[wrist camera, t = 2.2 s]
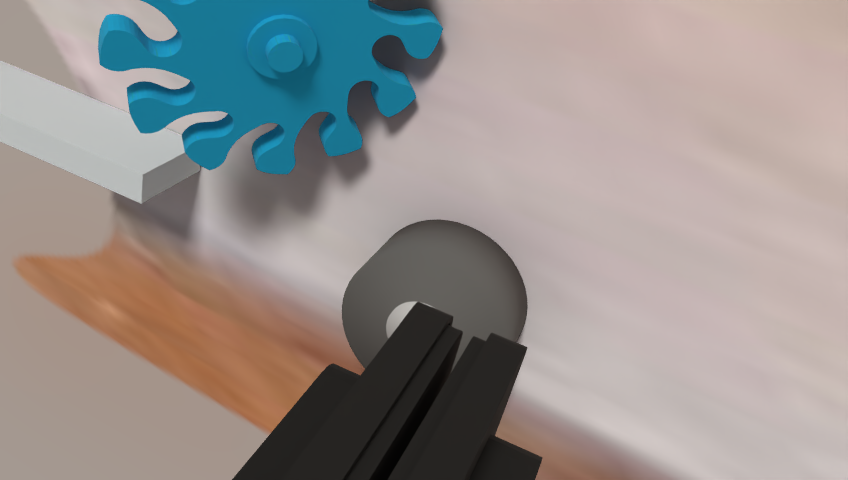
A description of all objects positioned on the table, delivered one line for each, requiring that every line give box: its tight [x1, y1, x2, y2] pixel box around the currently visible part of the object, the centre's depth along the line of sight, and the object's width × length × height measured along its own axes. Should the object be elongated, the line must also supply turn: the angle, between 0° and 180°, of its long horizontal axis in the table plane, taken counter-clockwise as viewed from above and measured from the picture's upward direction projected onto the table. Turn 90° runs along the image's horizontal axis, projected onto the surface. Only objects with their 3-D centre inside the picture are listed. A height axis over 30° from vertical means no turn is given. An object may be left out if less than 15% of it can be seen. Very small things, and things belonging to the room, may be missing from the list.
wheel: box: [342, 220, 527, 372], centre depth 29 cm, size 6×6×3 cm
